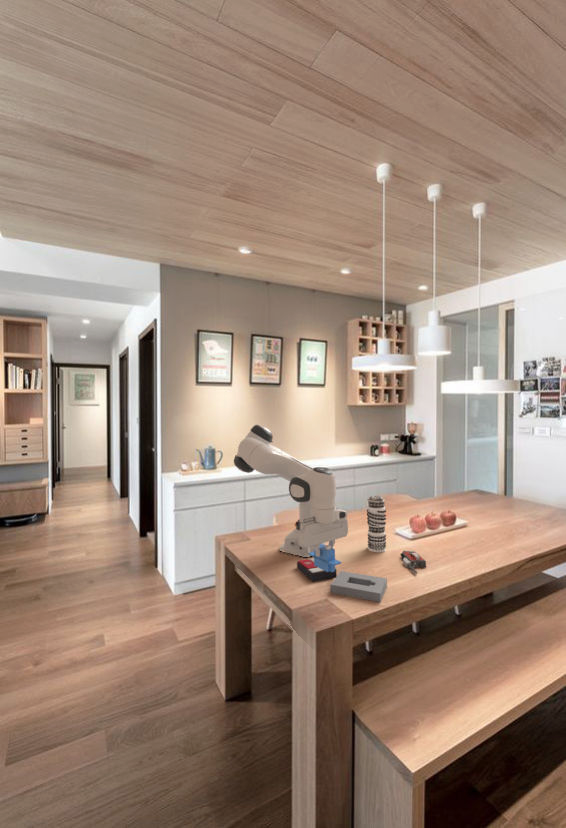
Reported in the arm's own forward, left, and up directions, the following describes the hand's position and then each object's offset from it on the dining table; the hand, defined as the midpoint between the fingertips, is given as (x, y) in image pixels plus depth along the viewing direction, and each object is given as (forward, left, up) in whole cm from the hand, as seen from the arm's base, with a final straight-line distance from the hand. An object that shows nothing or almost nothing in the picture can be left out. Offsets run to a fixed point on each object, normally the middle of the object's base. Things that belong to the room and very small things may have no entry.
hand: (324, 554), depth 136 cm
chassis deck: (+9, +14, -17) cm, 23 cm away
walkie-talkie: (+25, +45, -17) cm, 54 cm away
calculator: (-11, +22, -17) cm, 30 cm away
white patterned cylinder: (+7, +58, -17) cm, 61 cm away
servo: (0, 0, -5) cm, 5 cm away
